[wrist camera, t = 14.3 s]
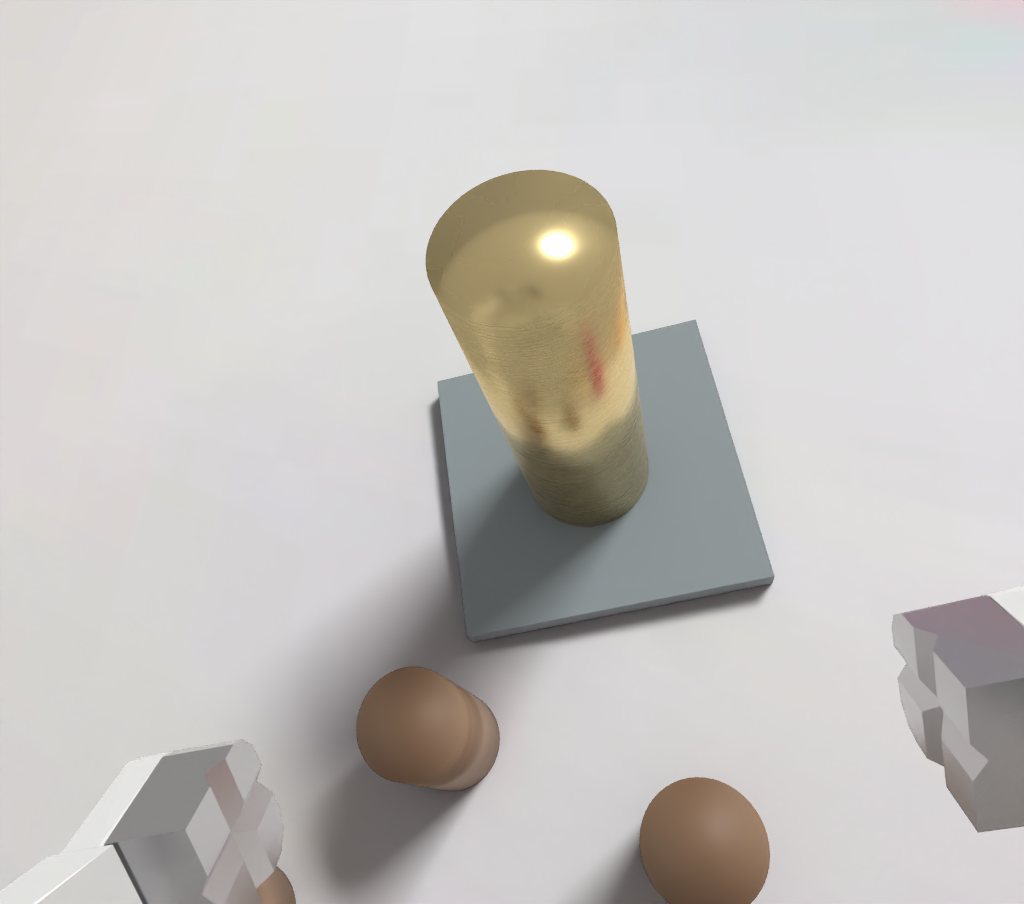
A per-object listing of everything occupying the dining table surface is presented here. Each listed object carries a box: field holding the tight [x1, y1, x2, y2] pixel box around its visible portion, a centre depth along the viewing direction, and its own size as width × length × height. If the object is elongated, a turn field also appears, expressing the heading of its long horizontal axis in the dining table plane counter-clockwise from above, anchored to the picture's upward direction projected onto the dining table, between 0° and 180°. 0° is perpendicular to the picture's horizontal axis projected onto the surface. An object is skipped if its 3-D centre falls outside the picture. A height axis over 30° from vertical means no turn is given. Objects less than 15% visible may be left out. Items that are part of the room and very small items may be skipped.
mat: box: [437, 320, 774, 642], centre depth 28 cm, size 10×10×1 cm
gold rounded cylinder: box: [426, 170, 649, 527], centre depth 22 cm, size 4×4×12 cm
